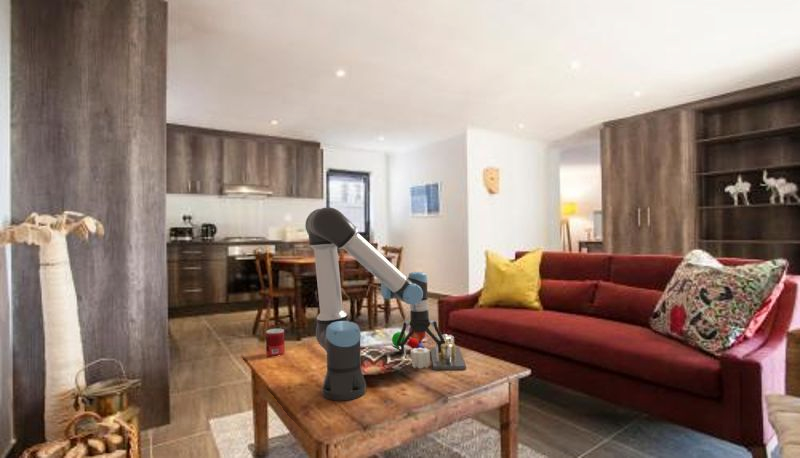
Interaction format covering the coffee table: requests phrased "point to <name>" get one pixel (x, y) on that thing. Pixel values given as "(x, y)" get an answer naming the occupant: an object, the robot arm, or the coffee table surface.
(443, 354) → the carrier
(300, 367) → the coffee table surface
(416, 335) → the apple
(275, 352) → the canned food
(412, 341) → the toy
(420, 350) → the planet gear
